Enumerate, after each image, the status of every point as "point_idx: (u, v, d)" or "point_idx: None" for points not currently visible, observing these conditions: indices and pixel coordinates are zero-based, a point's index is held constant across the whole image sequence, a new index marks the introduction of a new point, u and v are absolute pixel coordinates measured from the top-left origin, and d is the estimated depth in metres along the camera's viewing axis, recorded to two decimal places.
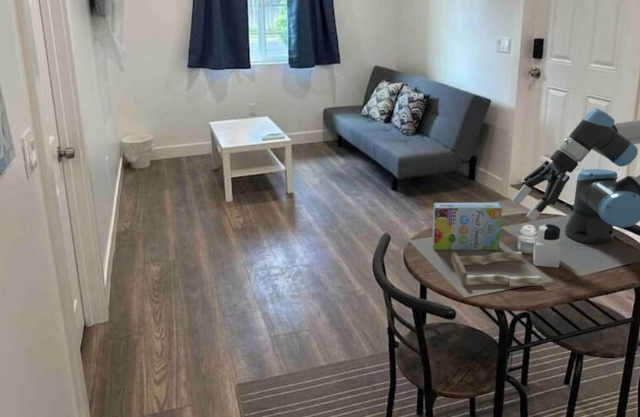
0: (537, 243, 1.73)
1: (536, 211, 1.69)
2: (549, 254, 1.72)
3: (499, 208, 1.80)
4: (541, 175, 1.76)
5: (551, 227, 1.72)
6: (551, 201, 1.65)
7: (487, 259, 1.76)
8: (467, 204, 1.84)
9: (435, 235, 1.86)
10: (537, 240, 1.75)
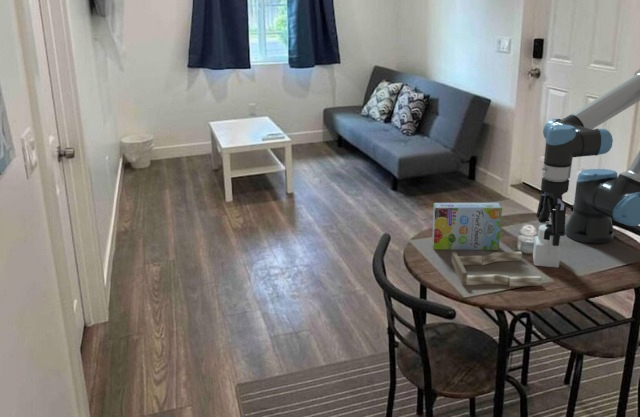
0: (537, 243, 1.73)
1: (554, 246, 1.69)
2: (548, 254, 1.72)
3: (499, 208, 1.80)
4: (545, 206, 1.72)
5: (551, 227, 1.72)
6: (559, 234, 1.65)
7: (487, 259, 1.76)
8: (467, 204, 1.84)
9: (435, 235, 1.86)
10: (537, 240, 1.75)
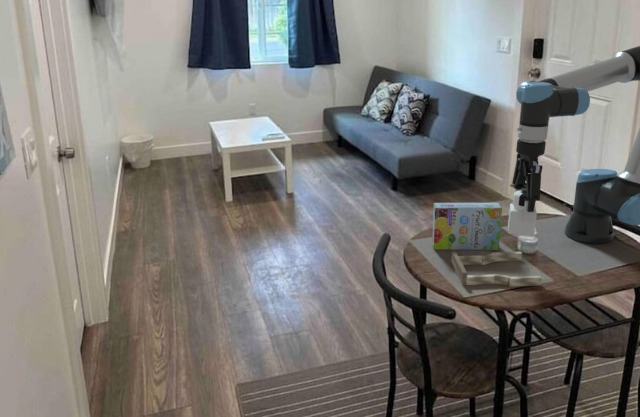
0: (511, 210, 1.63)
1: (529, 212, 1.59)
2: None
3: (499, 208, 1.80)
4: (521, 171, 1.63)
5: (526, 193, 1.62)
6: (534, 199, 1.55)
7: (487, 259, 1.76)
8: (467, 204, 1.84)
9: (435, 235, 1.86)
10: (512, 207, 1.65)
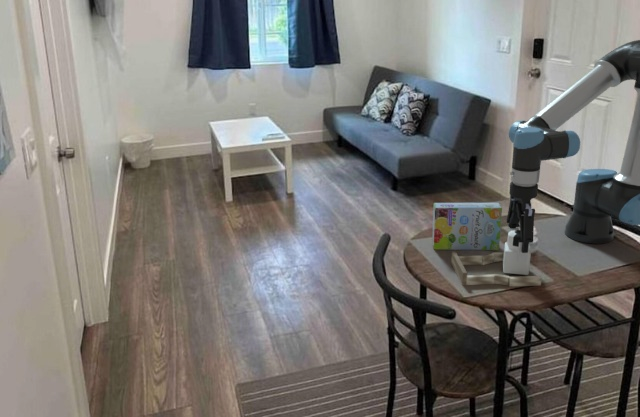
0: (506, 250, 1.67)
1: (523, 253, 1.63)
2: None
3: (499, 208, 1.80)
4: (514, 211, 1.66)
5: None
6: (528, 241, 1.59)
7: (487, 259, 1.76)
8: (467, 204, 1.84)
9: (435, 235, 1.86)
10: (506, 246, 1.69)
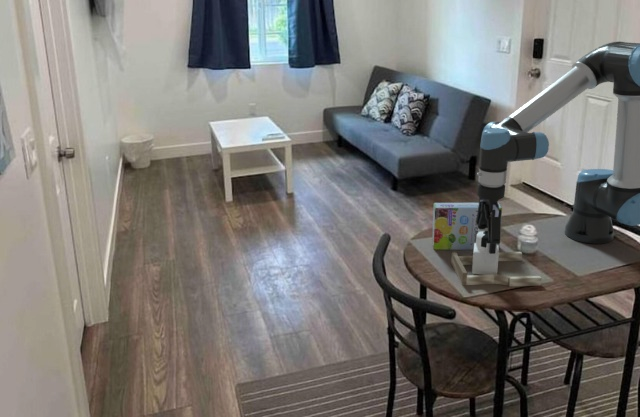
0: (474, 250, 1.67)
1: (491, 253, 1.63)
2: None
3: (499, 208, 1.80)
4: (483, 212, 1.66)
5: None
6: (495, 242, 1.59)
7: None
8: (467, 204, 1.84)
9: (435, 235, 1.86)
10: (475, 247, 1.69)
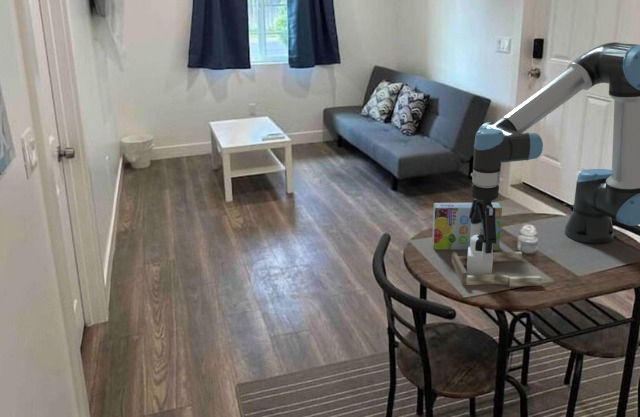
0: (469, 254, 1.67)
1: (487, 253, 1.61)
2: (480, 265, 1.66)
3: (499, 208, 1.80)
4: (476, 211, 1.67)
5: (483, 237, 1.66)
6: (491, 241, 1.57)
7: None
8: (467, 204, 1.84)
9: (435, 235, 1.86)
10: (469, 251, 1.69)
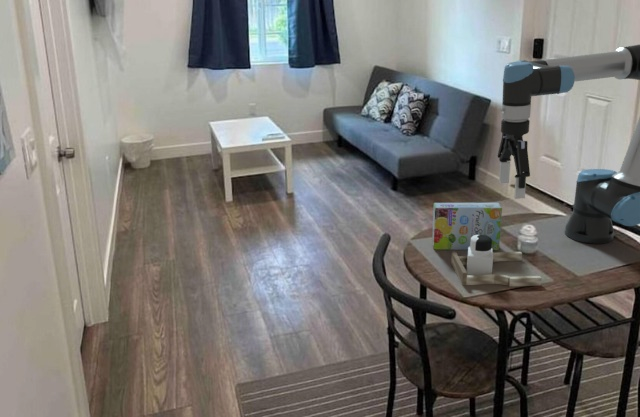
0: (469, 254, 1.67)
1: (520, 189, 1.59)
2: (480, 265, 1.66)
3: (499, 208, 1.80)
4: (506, 148, 1.65)
5: (483, 237, 1.66)
6: (524, 175, 1.54)
7: None
8: (467, 204, 1.84)
9: (435, 235, 1.86)
10: (469, 251, 1.69)
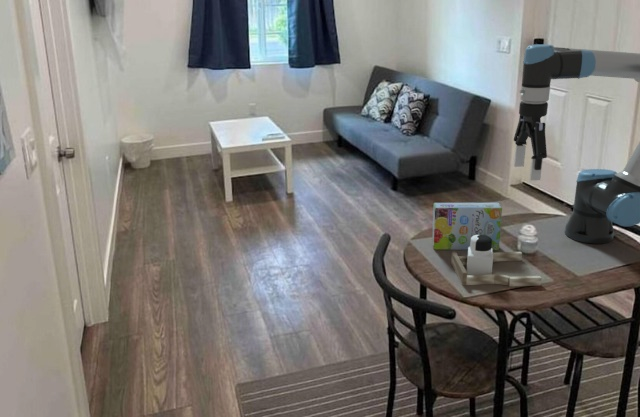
0: (469, 254, 1.67)
1: (536, 170, 1.60)
2: (480, 265, 1.66)
3: (499, 208, 1.80)
4: (523, 131, 1.67)
5: (483, 237, 1.66)
6: (541, 156, 1.56)
7: None
8: (467, 204, 1.84)
9: (435, 235, 1.86)
10: (469, 251, 1.69)
